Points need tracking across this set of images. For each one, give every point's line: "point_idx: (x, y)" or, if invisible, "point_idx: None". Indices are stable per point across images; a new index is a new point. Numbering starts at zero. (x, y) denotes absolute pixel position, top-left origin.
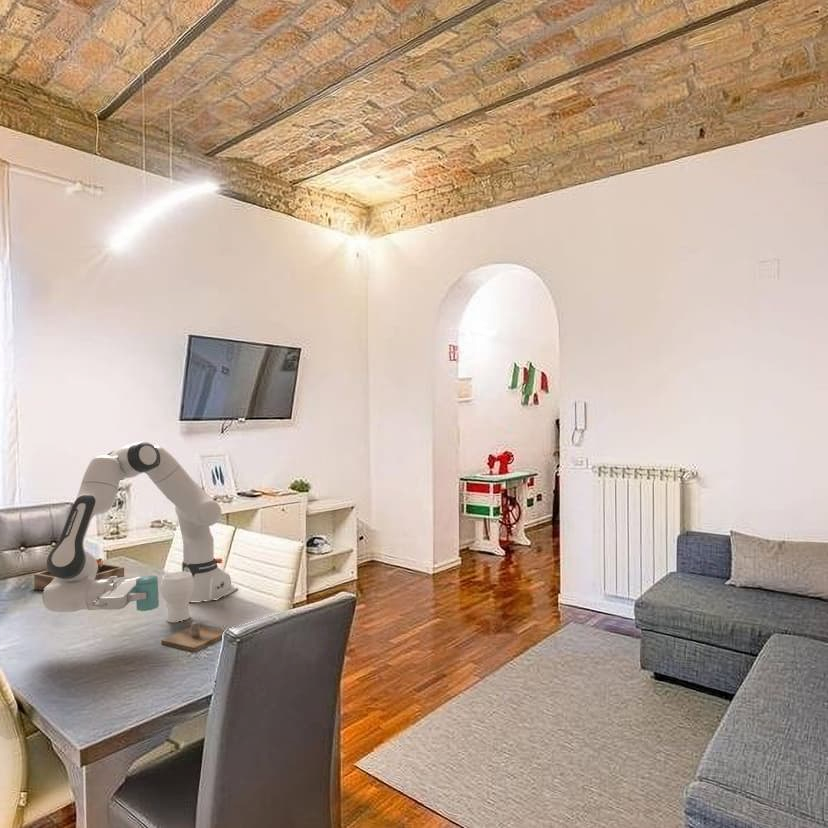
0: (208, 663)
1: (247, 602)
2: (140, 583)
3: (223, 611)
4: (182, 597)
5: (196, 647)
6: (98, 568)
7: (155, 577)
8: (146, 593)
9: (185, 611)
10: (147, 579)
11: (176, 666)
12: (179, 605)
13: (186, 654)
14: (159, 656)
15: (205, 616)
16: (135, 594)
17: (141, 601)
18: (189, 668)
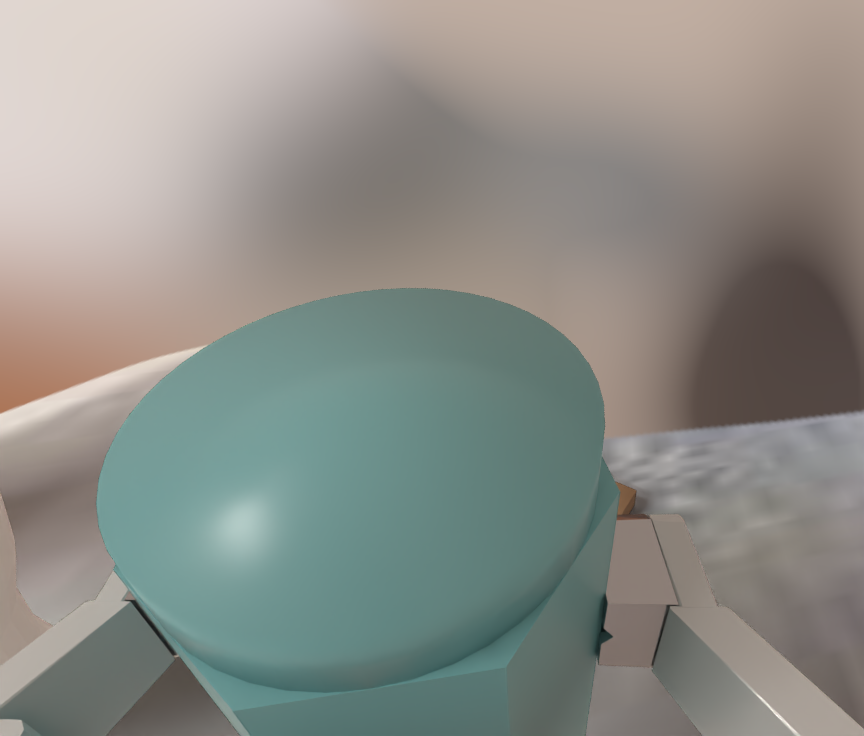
0: (760, 431)
1: (56, 421)
2: (594, 495)
3: (97, 485)
4: (15, 557)
5: (620, 486)
6: None
7: (362, 305)
8: (634, 517)
9: (46, 625)
10: (450, 371)
11: (845, 547)
12: (19, 626)
13: None
14: None
15: (106, 552)
16: (804, 683)
17: (587, 701)
18: (844, 486)
